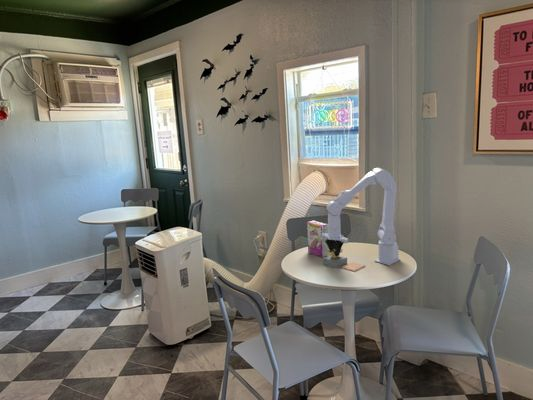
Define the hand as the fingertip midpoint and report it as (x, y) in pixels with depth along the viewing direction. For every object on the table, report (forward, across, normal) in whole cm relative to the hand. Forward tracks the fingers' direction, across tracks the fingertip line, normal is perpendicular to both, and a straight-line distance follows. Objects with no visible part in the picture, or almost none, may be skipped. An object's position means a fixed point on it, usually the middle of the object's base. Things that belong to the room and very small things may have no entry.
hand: (334, 254), depth 182 cm
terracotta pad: (+4, +9, +2) cm, 10 cm away
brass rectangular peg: (+4, 0, 0) cm, 4 cm away
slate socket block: (+4, 0, 0) cm, 4 cm away
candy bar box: (+5, -15, +5) cm, 16 cm away
